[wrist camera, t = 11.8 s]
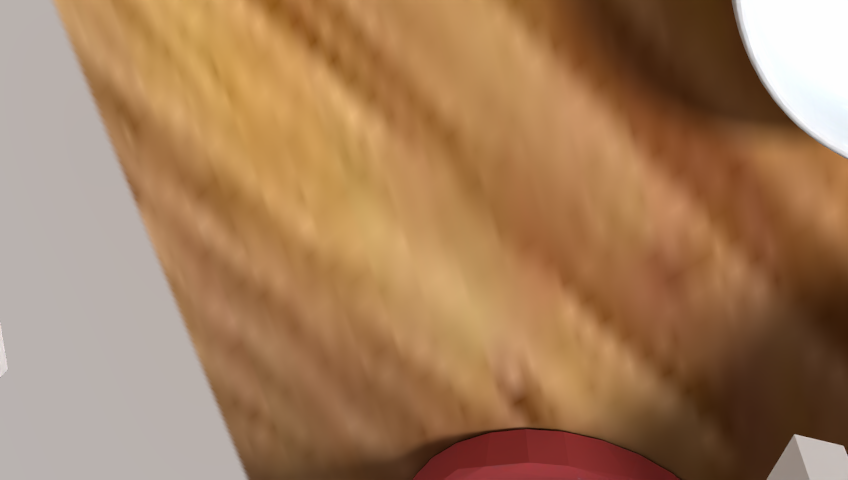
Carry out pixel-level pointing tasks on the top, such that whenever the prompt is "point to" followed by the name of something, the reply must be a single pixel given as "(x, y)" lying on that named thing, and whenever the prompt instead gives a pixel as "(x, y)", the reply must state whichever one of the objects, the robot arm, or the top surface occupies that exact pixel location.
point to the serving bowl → (802, 61)
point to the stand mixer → (539, 459)
